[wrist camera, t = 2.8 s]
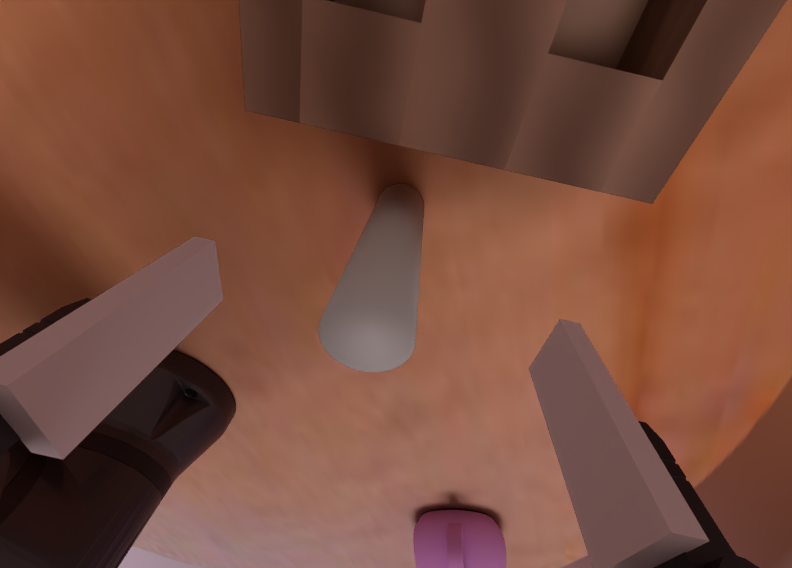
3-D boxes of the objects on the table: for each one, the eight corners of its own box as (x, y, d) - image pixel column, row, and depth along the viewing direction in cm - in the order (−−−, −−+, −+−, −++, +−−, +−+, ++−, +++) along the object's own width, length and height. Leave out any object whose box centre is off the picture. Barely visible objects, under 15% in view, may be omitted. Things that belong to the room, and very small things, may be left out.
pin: (374, 224, 24) (315, 361, 12) (381, 178, 22) (321, 288, 10) (418, 233, 24) (404, 380, 12) (429, 189, 22) (426, 310, 10)
